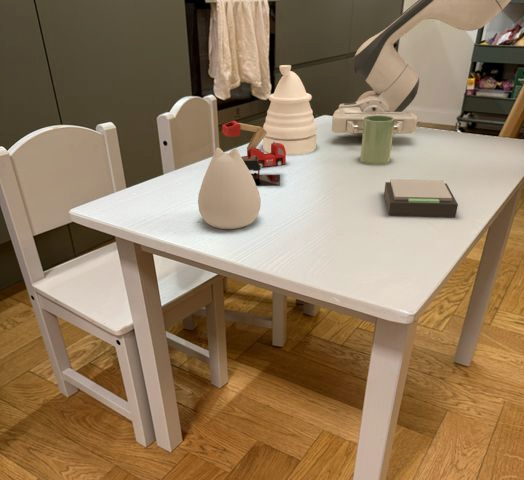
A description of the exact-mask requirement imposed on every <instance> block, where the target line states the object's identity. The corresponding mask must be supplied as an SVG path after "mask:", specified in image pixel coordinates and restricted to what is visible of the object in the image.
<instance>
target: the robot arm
mask: <svg viewBox="0 0 524 480" xmlns="http://www.w3.org/2000/svg"><path fill="white" fill-rule="evenodd" d="M511 2H512V0H417V1H416V2H415V3H413V4H412V5H411V6H410V7H408V8H407V9H405V11H403V12H402V13H401V14H400V15H398V16H397V17H396V18H395V19H394V20H393V21H391V22H389V24H388V25H386V26H385V27H384V28H383V29H381V30H380V31H379V32H378V33H376V34H375V35H373V36H372V37H369V38H368V39H367V40H365V42H363V43H362V44H361V45H360V47H358V48H357V51H356V53H355V54H354V56H353V69H354V73H355V75H357V76H358V77H359V78H360V79H362V81H364V82H366V84H367V85H368V86H369V87H370V88H371V89H372V90H368V91H365V92H363V93H362V94H361V95H359V97H358V98H357V100H356V101H352V102H345V103H344V102H343V103H340V104H339V105H338V108H337V109H336V110H334V112H333V114H332V118H331V132H332V133H334V134H343V133H345V134H347V133H348V134H354V135H359V136H362V135H363V124H364V118H365V117H367V116H374V115H382V116H390V117H393V118H394V119H395V122H394V130H393V135H399V134H413V133H416V131H417V127H418V116H417V115H416V114H414V113H412V112H411V111H405V110H406V109H407V108H408V107H409V106H410V104H411V103H412V102H413V101H414V99H415V98H416V96H417V94H418V92H419V91H418V90H419V87H420V77H419V75H418V74H417V73H416V72H415V70H413V68H412V67H411V66H410V65H409V63H408V62H406V60H405V59H404V58H403V57H402V56H401V55H400V54H399V52H398V51H397V50H396V49H395V47H394V44H395V43H397V42H398V41H399V40H400V39H401V38H402V37H403V36H405V35H406V34H407V33H408V32H410V31H411V30H412V29H414V28H415V27H416V26H417V25H419V24H420V23H422V22H423V21H425V20H426V21H427V20H435V21H436V20H437V21H440V22H442V23H444V24H446V25H449V26H451V27H453V28H455V29H458V30H461V31H466V32H473V31H477V30H480V29H482V28H483V27H485V26H486V25H487V24H489V23H490V22H491V21H492V20H494V18H495V17H497V16H498V15H499V14H500V13H501V12H502V10H504V9H505V7H507V5H509V3H511Z"/></svg>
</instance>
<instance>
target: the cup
mask: <svg viewBox="0 0 524 480" xmlns="http://www.w3.org/2000/svg"><path fill="white" fill-rule="evenodd" d="M394 122H395V119H394V118H393V117H390V116H382V115H374V116H367V117H365V118H364V124H363V135H361V138H362V139H361V146H360V147H361V148H360V156H359V157H360V162H361V163H363V164H365V165H372V166H380V165H382V166H383V165H386V164H388V163H390V160H391V154H392V153H391V151H392V145H393V137H394V134H393V130H394Z"/></svg>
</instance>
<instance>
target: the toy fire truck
mask: <svg viewBox="0 0 524 480" xmlns="http://www.w3.org/2000/svg"><path fill="white" fill-rule="evenodd" d="M241 130H242V131H247V132H252V133H253V135H252V137H251V139H250V140H249V143H248V145H247V147H246V155H242V156H241V155H240V156H241V157H248V159H250V158H251V157H258V161H260V165H261V167H260V168H261V169H263V168H264V167H274V166H277V167H280V166H282V165H286V164H287V163H286V162H287V155H286V150H285V147H284V145H283V144H280V143H275V142H273V143H271V153H268V152H266V153H265V151H262V150H261V149H260V148H257V147H258V146H259V144H260V143H261V142H262V141H263V138H264V136H265V135H266V134H267V132H266V131H265V130H264V129H263V126H260V125H258V126H257V125H253V124H246V123H242V122H237V121H236V120H232V121H229V122H226V123H224V124H222V129H221V131H222V135H224V136H225V137H227V138H231V137H232V138H233V137H234V138H235V137H240V136H241V135H240V134H241Z"/></svg>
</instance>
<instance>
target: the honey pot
mask: <svg viewBox="0 0 524 480" xmlns="http://www.w3.org/2000/svg"><path fill="white" fill-rule="evenodd" d="M278 69H279V72H280V74H281V75H282V76H281V78H280V79H279V80H278V83H277V85H276V87H275V89H274V92H273V93H271V94H270V95H268V100H269V102H270V104H269V106H268V109H267V111H266V114H267V115H266V116H265V121H264V123H263V126H262V128H263V129H264V130H265V131H266V132H267V134H266V135H265V136H264V138H263V139H262V146H263V147H262V149H263V152H266V153H271V143H273V142H275V143H280V144H283V145H284V147H285V150H286V156H299V155H306V154H309V153H312V152H314V151H316V149H317V129H318V128H317V124H316V122H315V116H314V115H313V114H314V113H313V112H314V111H313V109H312V107H311V103H310V101H312V99H313V96H312V94H311V93H309V92H307V91H306V88H305V85H304V83H303V81H302V79H301V78H300V76H299V75H298V74H297V73H295V71H291V69H292V65H290V64H281V65H279V68H278Z"/></svg>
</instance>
